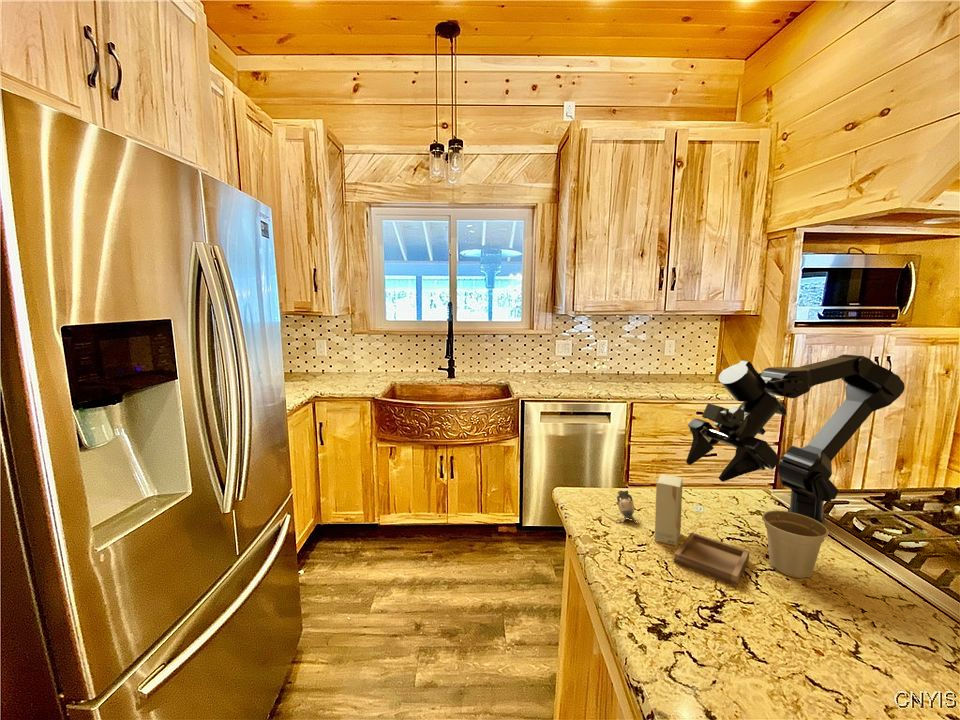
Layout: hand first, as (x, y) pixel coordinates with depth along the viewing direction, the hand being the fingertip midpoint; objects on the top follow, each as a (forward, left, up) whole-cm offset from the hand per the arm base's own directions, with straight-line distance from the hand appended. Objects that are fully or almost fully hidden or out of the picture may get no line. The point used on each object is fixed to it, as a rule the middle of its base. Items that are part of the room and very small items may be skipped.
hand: (703, 471), depth 84 cm
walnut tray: (+10, +5, -13) cm, 17 cm away
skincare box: (+6, -4, -13) cm, 16 cm away
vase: (+4, -14, -14) cm, 20 cm away
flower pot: (+2, +16, -13) cm, 21 cm away
